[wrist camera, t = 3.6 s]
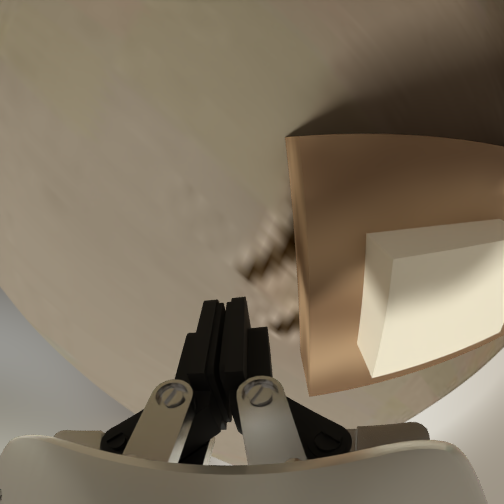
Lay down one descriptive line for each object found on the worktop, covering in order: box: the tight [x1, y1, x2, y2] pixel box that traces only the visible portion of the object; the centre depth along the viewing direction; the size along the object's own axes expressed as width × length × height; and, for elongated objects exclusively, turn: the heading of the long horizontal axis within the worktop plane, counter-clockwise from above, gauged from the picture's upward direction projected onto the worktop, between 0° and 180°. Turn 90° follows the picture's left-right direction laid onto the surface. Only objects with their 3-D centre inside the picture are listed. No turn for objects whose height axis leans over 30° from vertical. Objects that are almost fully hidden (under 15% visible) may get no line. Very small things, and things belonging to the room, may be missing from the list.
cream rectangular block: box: [357, 219, 504, 378], centre depth 10 cm, size 6×9×2 cm, turn 97°
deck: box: [285, 134, 504, 397], centre depth 13 cm, size 14×17×4 cm
